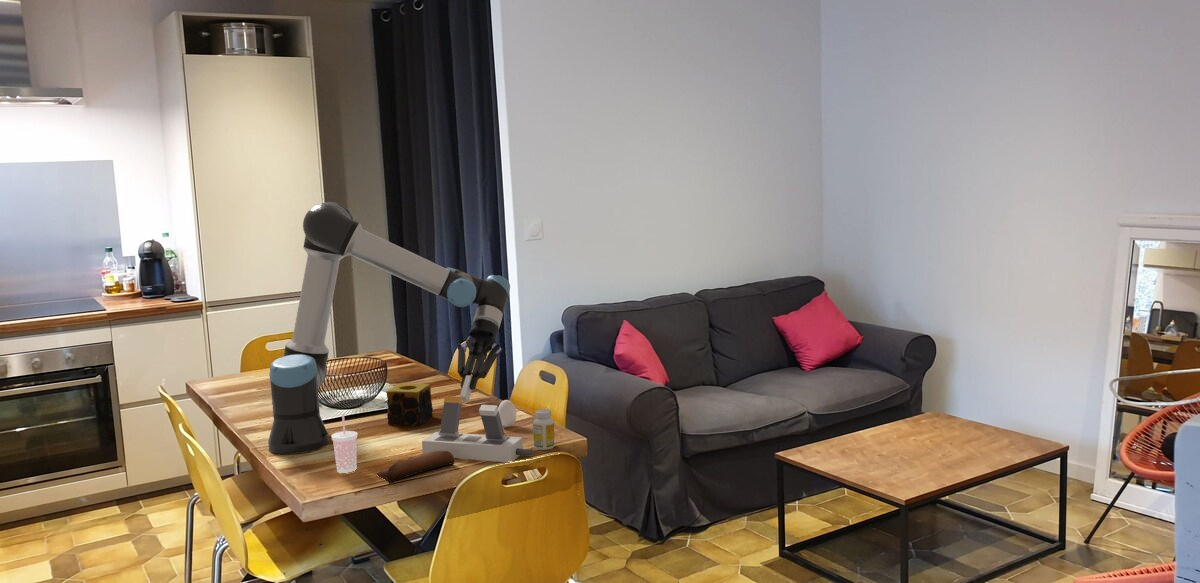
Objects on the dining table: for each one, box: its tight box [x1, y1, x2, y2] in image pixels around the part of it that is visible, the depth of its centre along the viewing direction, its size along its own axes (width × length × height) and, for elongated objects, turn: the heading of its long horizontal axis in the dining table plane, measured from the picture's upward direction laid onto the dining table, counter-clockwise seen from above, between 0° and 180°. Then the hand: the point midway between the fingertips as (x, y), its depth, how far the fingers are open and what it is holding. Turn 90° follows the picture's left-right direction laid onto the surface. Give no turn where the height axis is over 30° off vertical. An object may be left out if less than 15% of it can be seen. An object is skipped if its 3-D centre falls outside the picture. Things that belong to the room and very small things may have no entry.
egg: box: [498, 399, 517, 428], centre depth 252 cm, size 5×5×8 cm
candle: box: [385, 383, 434, 427], centre depth 261 cm, size 10×10×10 cm
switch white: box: [478, 404, 507, 440], centre depth 224 cm, size 2×5×10 cm, turn 73°
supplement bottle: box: [532, 408, 555, 451], centre depth 233 cm, size 5×5×10 cm
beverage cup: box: [331, 413, 358, 474], centre depth 218 cm, size 6×6×14 cm
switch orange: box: [437, 395, 463, 437], centre depth 231 cm, size 2×5×10 cm, turn 74°
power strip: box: [421, 431, 534, 463], centre depth 228 cm, size 28×8×4 cm, turn 73°
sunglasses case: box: [375, 451, 455, 484], centre depth 218 cm, size 18×7×7 cm
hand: (464, 399), depth 238 cm, fingers closed
